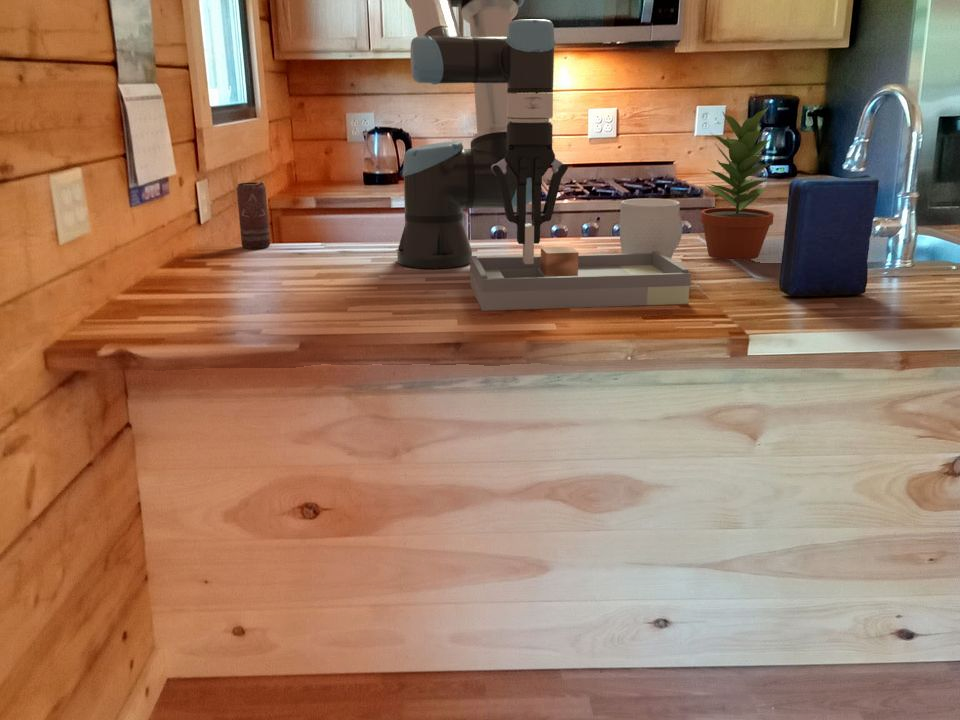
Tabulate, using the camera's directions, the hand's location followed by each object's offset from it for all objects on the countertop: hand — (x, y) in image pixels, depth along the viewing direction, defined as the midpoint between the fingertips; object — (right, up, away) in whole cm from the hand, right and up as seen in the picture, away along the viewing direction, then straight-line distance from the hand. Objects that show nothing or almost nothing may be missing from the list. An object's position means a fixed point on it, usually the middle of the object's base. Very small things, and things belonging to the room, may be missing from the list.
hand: (528, 262), depth 147 cm
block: (+5, -2, +1) cm, 6 cm away
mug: (+25, +1, +18) cm, 31 cm away
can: (-58, +8, +43) cm, 73 cm away
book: (+50, -6, -3) cm, 50 cm away
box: (+7, -6, -1) cm, 9 cm away
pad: (+21, -5, 0) cm, 22 cm away
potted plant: (+44, +5, +31) cm, 54 cm away
